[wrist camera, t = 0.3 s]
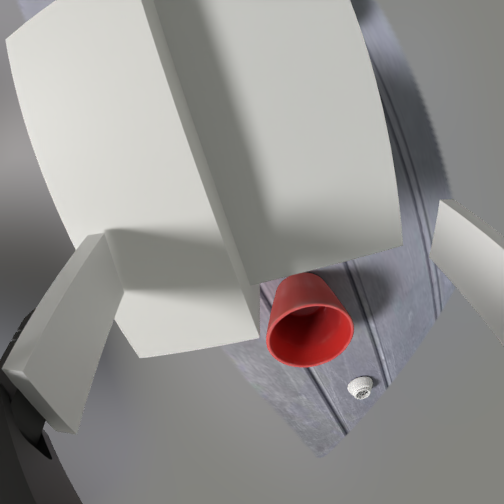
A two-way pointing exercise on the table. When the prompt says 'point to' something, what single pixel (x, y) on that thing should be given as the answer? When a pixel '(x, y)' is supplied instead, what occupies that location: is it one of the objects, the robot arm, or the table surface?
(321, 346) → the flower pot
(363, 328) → the table surface
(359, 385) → the white jar
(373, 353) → the table surface
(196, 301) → the box
